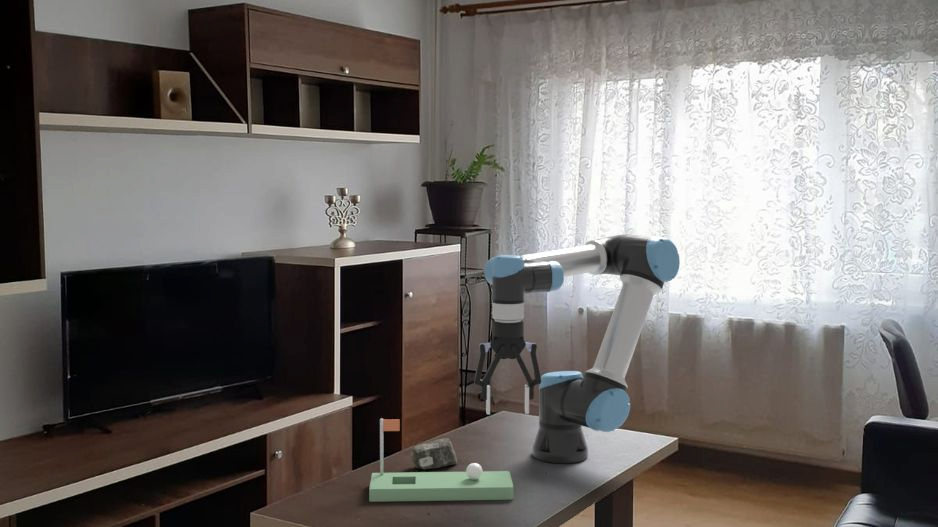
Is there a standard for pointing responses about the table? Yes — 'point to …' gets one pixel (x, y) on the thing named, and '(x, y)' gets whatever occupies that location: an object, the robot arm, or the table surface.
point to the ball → (474, 471)
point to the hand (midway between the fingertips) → (507, 412)
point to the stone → (434, 454)
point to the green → (435, 482)
